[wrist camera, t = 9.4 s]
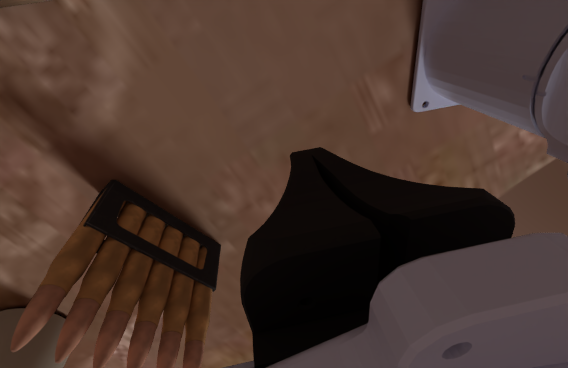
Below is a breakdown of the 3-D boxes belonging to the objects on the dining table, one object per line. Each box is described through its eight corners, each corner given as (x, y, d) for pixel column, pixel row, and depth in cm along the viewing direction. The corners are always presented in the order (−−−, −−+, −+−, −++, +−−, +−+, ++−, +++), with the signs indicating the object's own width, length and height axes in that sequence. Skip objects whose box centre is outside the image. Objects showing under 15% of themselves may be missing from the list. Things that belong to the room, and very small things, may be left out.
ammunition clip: (99, 193, 21) (-25, 355, 11) (113, 178, 21) (-4, 333, 11) (208, 256, 26) (191, 406, 16) (221, 245, 26) (212, 393, 16)
